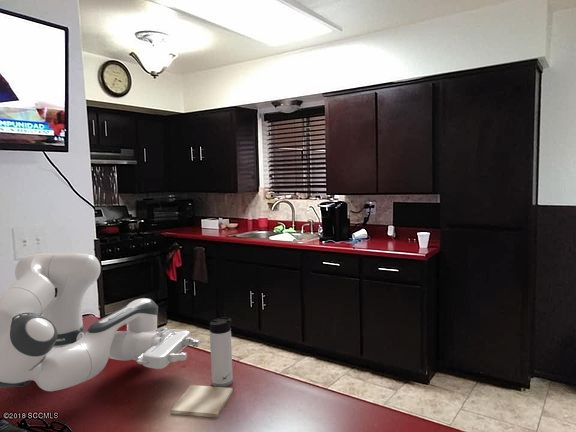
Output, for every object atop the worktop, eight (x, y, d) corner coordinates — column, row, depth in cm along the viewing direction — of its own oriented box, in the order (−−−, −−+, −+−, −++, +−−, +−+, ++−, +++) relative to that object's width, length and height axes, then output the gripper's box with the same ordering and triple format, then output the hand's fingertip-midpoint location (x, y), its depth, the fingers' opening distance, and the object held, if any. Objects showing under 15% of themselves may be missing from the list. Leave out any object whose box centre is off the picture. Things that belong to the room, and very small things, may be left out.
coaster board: (171, 413, 112) (171, 409, 112) (190, 388, 125) (190, 384, 125) (217, 417, 110) (217, 413, 110) (232, 391, 122) (232, 388, 122)
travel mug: (229, 388, 124) (227, 323, 122) (208, 386, 125) (205, 322, 123) (236, 378, 130) (234, 316, 128) (216, 376, 131) (213, 314, 129)
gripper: (132, 352, 120) (177, 354, 117) (165, 325, 140) (204, 327, 137) (133, 372, 121) (178, 376, 118) (166, 343, 141) (205, 345, 138)
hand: (192, 349), depth 128 cm, fingers open, 8 cm apart
